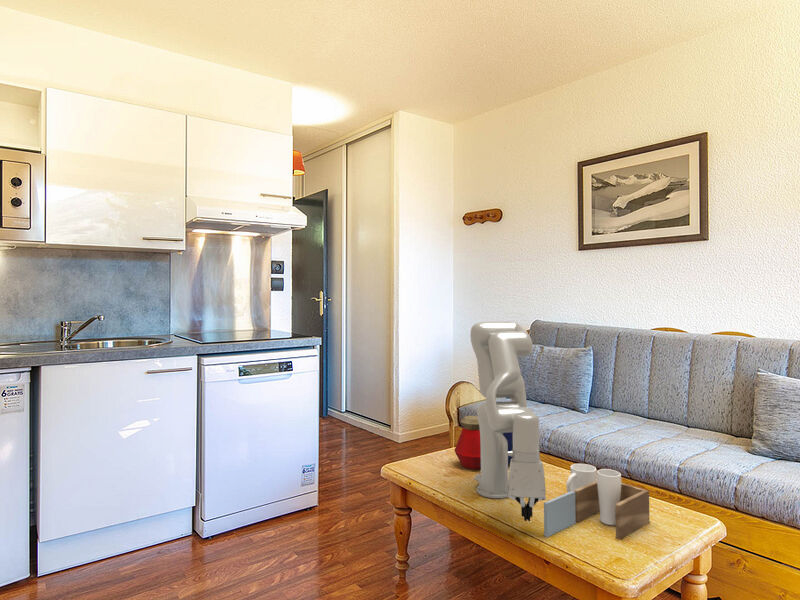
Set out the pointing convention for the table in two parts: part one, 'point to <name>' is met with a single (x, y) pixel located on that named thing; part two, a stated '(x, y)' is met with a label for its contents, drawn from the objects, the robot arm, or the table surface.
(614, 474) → the drinking glass
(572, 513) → the thin blue-gray plank
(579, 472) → the mug
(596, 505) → the u-shaped wooden frame
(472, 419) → the red faceted jar
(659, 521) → the table surface
